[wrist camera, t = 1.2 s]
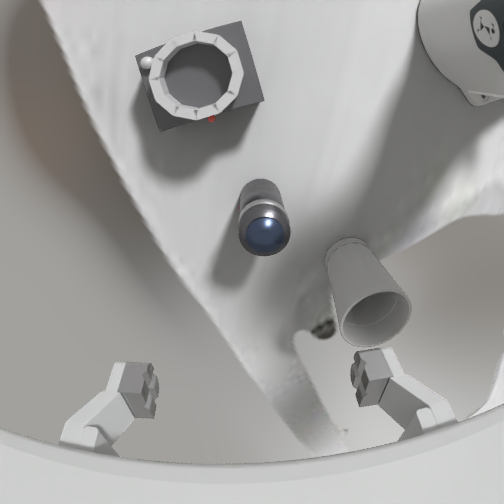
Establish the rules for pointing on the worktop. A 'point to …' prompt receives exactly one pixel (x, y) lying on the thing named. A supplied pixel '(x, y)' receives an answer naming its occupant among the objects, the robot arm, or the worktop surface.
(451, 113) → the worktop surface
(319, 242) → the worktop surface
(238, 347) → the worktop surface
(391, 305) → the cup
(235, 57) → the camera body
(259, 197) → the lens
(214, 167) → the worktop surface
